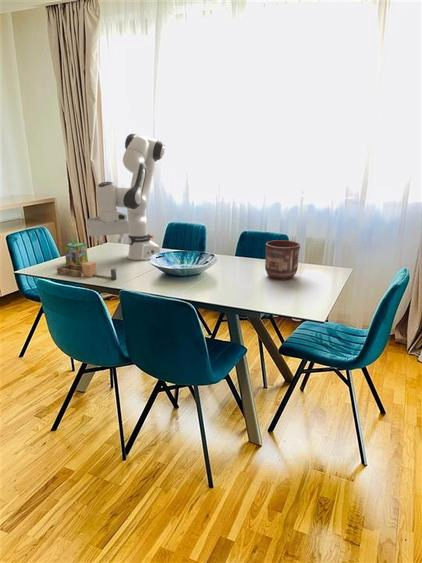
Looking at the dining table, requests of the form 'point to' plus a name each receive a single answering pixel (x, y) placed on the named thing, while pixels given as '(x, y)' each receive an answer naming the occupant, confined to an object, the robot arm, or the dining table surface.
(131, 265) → the dining table surface
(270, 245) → the pottery
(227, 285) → the dining table surface
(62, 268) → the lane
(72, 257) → the chalk box
